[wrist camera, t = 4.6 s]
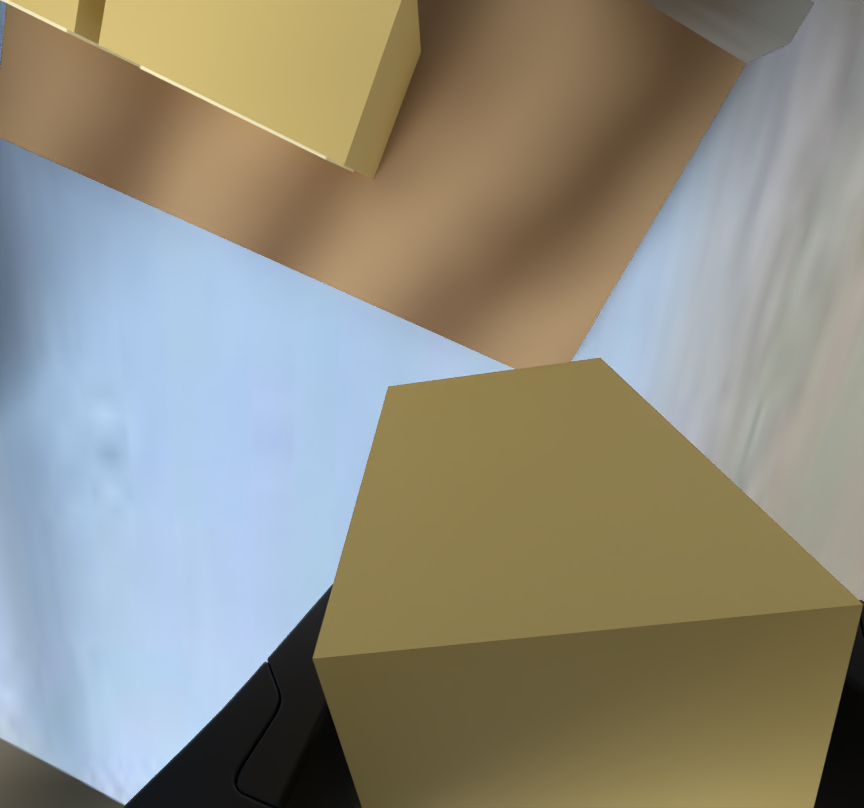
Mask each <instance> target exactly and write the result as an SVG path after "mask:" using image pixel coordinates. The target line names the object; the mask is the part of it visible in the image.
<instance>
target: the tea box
mask: <svg viewBox="0 0 864 808" xmlns="http://www.w3.org/2000/svg"><path fill="white" fill-rule="evenodd" d="M99 45H100V46H102V47H105V48H107V49H109V50H111V51H113V52H115V53H117V54H119V55H121V56H123V57H125V58H127V59H129V60H131V61H133V62H135V63H137V64H139V65H141V66H140V69H142V70H144V71H146V72H148V73H150V74H152V75H154V76H156V77H158V78H160V79H162V80H164V81H166V82H168V83H170V84H172V85H174V86H176V87H179V88H181V89H183V90H185V91H187V92H189V93H191V94H193V95H195V96H197V97H199V98H201V99H203V100H205V101H207V102H209V103H211V104H213V105H215V106H217V107H219V108H221V109H223V110H225V111H227V112H229V113H232V114H234V115H236V116H238V117H240V118H242V119H244V120H246V121H248V122H250V123H252V124H254V125H256V126H258V127H260V128H262V129H264V130H266V131H268V132H270V133H272V134H274V135H276V136H278V137H280V138H282V139H284V140H287V141H289V142H291V143H293V144H295V145H297V146H299V147H301V148H303V149H305V150H307V151H309V152H311V153H313V154H315V155H317V156H319V157H321V158H323V159H325V160H327V161H330V162H332V163H334V164H336V165H339V166H341V167H343V168H345V169H348V170H350V171H352V172H354V170H355V171H357V172H359V173H361V174H363V175H365V176H367V177H370V178H372V179H374V177H375V174H376V171H377V169H378V166H379V163H380V161H381V158H382V155H383V153H384V150H385V147H386V145H387V142H388V139H389V137H390V134H391V131H392V129H393V126H394V123H395V120H396V118H397V115H398V112H399V110H400V107H401V104H402V102H403V99H404V96H405V94H406V91H407V88H408V86H409V83H410V80H411V78H412V75H413V72H414V69H415V67H416V64H417V61H418V59H419V56H420V53H421V45H420V31H419V17H418V3H417V0H106V2H105V8H104V14H103V20H102V26H101V32H100V39H99Z"/></svg>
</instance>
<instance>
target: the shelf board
mask: <svg viewBox="0 0 864 808" xmlns="http://www.w3.org/2000/svg"><path fill="white" fill-rule="evenodd" d="M417 3H418V17H419V31H420V45H421V53H420V56H419V59H418V61H417V64H416V67H415V69H414V72H413V75H412V78H411V80H410V83H409V86H408V88H407V91H406V94H405V96H404V99H403V102H402V104H401V107H400V110H399V112H398V115H397V118H396V120H395V123H394V126H393V129H392V131H391V134H390V137H389V139H388V142H387V145H386V147H385V150H384V153H383V155H382V158H381V161H380V163H379V166H378V169H377V171H376V174H375V177H374V179H372V178H370V177H367V176H365V175H363V174H361V173H359V172H357V171H355V170H354V172H352V171H350V170H348V169H345V168H343V167H341V166H339V165H336V164H334V163H332V162H330V161H327V160H325V159H323V158H321V157H319V156H317V155H315V154H313V153H311V152H309V151H307V150H305V149H303V148H301V147H299V146H297V145H295V144H293V143H291V142H289V141H287V140H284V139H282V138H280V137H278V136H276V135H274V134H272V133H270V132H268V131H266V130H264V129H262V128H260V127H258V126H256V125H254V124H252V123H250V122H248V121H246V120H244V119H242V118H240V117H238V116H236V115H234V114H232V113H229V112H227V111H225V110H223V109H221V108H219V107H217V106H215V105H213V104H211V103H209V102H207V101H205V100H203V99H201V98H199V97H197V96H195V95H193V94H191V93H189V92H187V91H185V90H183V89H181V88H179V87H176V86H174V85H172V84H170V83H168V82H166V81H164V80H162V79H160V78H158V77H156V76H154V75H152V74H150V73H148V72H146V71H144V70H142V69H140V67H138V66H136V65H133V64H131V63H129V62H127V61H125V60H123V59H121V58H119V57H117V56H115V55H112V54H110V53H108V52H106V51H104V50H102V49H100V48H98V47H96V46H94V45H92V44H89V43H87V42H85V41H83V40H81V39H79V38H77V37H75V36H73V35H71V34H69V33H66V32H64V31H62V30H60V29H58V28H56V27H54V26H52V25H50V24H48V23H46V22H44V21H42V20H40V19H38V18H36V17H34V16H32V15H30V14H28V13H26V12H24V11H22V10H20V9H18V8H16V7H14V6H11V5H9V4H7V7H6V17H5V27H4V37H3V47H2V57H1V67H0V138H1V139H4V140H6V141H8V142H10V143H13V144H15V145H17V146H19V147H21V148H24V149H26V150H28V151H30V152H33V153H35V154H37V155H39V156H42V157H44V158H46V159H48V160H50V161H53V162H55V163H57V164H59V165H62V166H64V167H66V168H68V169H71V170H73V171H75V172H77V173H79V174H82V175H84V176H86V177H88V178H91V179H93V180H95V181H97V182H100V183H102V184H104V185H106V186H108V187H111V188H113V189H115V190H117V191H120V192H122V193H124V194H126V195H129V196H131V197H133V198H135V199H137V200H140V201H142V202H144V203H146V204H149V205H151V206H153V207H155V208H158V209H160V210H162V211H164V212H166V213H169V214H171V215H173V216H175V217H178V218H180V219H182V220H184V221H187V222H189V223H191V224H193V225H195V226H198V227H200V228H202V229H204V230H207V231H209V232H211V233H213V234H216V235H218V236H220V237H222V238H224V239H227V240H229V241H231V242H233V243H236V244H238V245H240V246H242V247H245V248H247V249H249V250H251V251H253V252H256V253H258V254H260V255H262V256H265V257H267V258H269V259H271V260H274V261H276V262H278V263H280V264H282V265H285V266H287V267H289V268H291V269H294V270H296V271H298V272H300V273H303V274H305V275H307V276H309V277H311V278H314V279H316V280H318V281H320V282H323V283H325V284H327V285H329V286H332V287H334V288H336V289H338V290H340V291H343V292H345V293H347V294H349V295H352V296H354V297H356V298H358V299H361V300H363V301H365V302H367V303H369V304H372V305H374V306H376V307H378V308H381V309H383V310H385V311H387V312H390V313H392V314H394V315H396V316H398V317H401V318H403V319H405V320H407V321H410V322H412V323H414V324H416V325H419V326H421V327H423V328H425V329H427V330H430V331H432V332H434V333H436V334H439V335H441V336H443V337H445V338H448V339H450V340H452V341H454V342H456V343H459V344H461V345H463V346H465V347H468V348H470V349H472V350H474V351H477V352H479V353H481V354H483V355H485V356H488V357H490V358H492V359H494V360H497V361H499V362H501V363H503V364H506V365H508V366H510V367H512V368H514V369H522V368H529V367H536V366H544V365H551V364H558V363H566V362H571V360H572V359H573V357H574V355H575V353H576V352H577V350H578V348H579V347H580V345H581V343H582V342H583V340H584V338H585V336H586V335H587V333H588V331H589V330H590V328H591V326H592V325H593V323H594V321H595V320H596V318H597V316H598V314H599V313H600V311H601V309H602V308H603V306H604V304H605V303H606V301H607V299H608V297H609V296H610V294H611V292H612V291H613V289H614V287H615V286H616V284H617V282H618V280H619V279H620V277H621V275H622V274H623V272H624V270H625V269H626V267H627V265H628V263H629V262H630V260H631V258H632V257H633V255H634V253H635V252H636V250H637V248H638V246H639V245H640V243H641V241H642V240H643V238H644V236H645V235H646V233H647V231H648V229H649V228H650V226H651V224H652V223H653V221H654V219H655V218H656V216H657V214H658V212H659V211H660V209H661V207H662V206H663V204H664V202H665V201H666V199H667V197H668V195H669V194H670V192H671V190H672V189H673V187H674V185H675V184H676V182H677V180H678V178H679V177H680V175H681V173H682V172H683V170H684V168H685V167H686V165H687V163H688V161H689V160H690V158H691V156H692V155H693V153H694V151H695V150H696V148H697V146H698V144H699V143H700V141H701V139H702V138H703V136H704V134H705V133H706V131H707V129H708V127H709V126H710V124H711V122H712V121H713V119H714V117H715V116H716V114H717V112H718V110H719V109H720V107H721V105H722V104H723V102H724V100H725V99H726V97H727V95H728V93H729V92H730V90H731V88H732V87H733V85H734V83H735V82H736V80H737V78H738V76H739V75H740V73H741V71H742V70H743V68H744V66H745V65H746V63H748V62H750V61H753V60H755V59H757V58H759V57H761V56H764V55H766V54H768V53H770V52H772V51H774V50H777V49H779V48H781V47H783V46H785V45H788V44H789V43H790V42H791V40H792V39H793V37H794V35H795V34H796V32H797V30H798V29H799V27H800V25H801V24H802V22H803V20H804V19H805V17H806V16H807V14H808V12H809V11H810V9H811V7H812V6H813V4H814V3H813V2H811V1H810V0H417Z"/></svg>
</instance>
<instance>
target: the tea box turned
mask: <svg viewBox="0 0 864 808" xmlns="http://www.w3.org/2000/svg"><path fill="white" fill-rule="evenodd" d="M862 608H863V604H862V603H861V602H860V601H859V600H858V599H857V598H856V597H855V596H854V595H853V594H852V593H851V592H850V591H848V590H847V589H846V588H845V587H844V586H843V585H842V584H841V583H840V582H839V581H838V580H837V579H836V578H835V577H834V576H832V575H831V574H830V573H829V572H828V571H827V570H826V569H825V568H824V567H823V566H822V565H821V564H820V563H819V562H818V561H816V560H815V559H814V558H813V557H812V556H811V555H810V554H809V553H808V552H807V551H806V550H805V549H804V548H803V547H802V546H800V545H799V544H798V543H797V542H796V541H795V540H794V539H793V538H792V537H791V536H790V535H789V534H788V533H787V532H786V531H784V530H783V529H782V528H781V527H780V526H779V525H778V524H777V523H776V522H775V521H774V520H773V519H772V518H771V517H770V516H768V515H767V514H766V513H765V512H764V511H763V510H762V509H761V508H760V507H759V506H758V505H757V504H756V503H755V502H754V501H752V500H751V499H750V498H749V497H748V496H747V495H746V494H745V493H744V492H743V491H742V490H741V489H740V488H739V487H738V486H736V485H735V484H734V483H733V482H732V481H731V480H730V479H729V478H728V477H727V476H726V475H725V474H724V473H723V472H722V471H720V470H719V469H718V468H717V467H716V466H715V465H714V464H713V463H712V462H711V461H710V460H709V459H708V458H707V457H706V456H704V455H703V454H702V453H701V452H700V451H699V450H698V449H697V448H696V447H695V446H694V445H693V444H692V443H691V442H690V441H688V440H687V439H686V438H685V437H684V436H683V435H682V434H681V433H680V432H679V431H678V430H677V429H676V428H675V427H674V426H672V425H671V424H670V423H669V422H668V421H667V420H666V419H665V418H664V417H663V416H662V415H661V414H660V413H659V412H658V411H656V410H655V409H654V408H653V407H652V406H651V405H650V404H649V403H648V402H647V401H646V400H645V399H644V398H643V397H642V396H640V395H639V394H638V393H637V392H636V391H635V390H634V389H633V388H632V387H631V386H630V385H629V384H628V383H627V382H626V381H624V380H623V379H622V378H621V377H620V376H619V375H618V374H617V373H616V372H615V371H614V370H613V369H612V368H611V367H610V366H608V365H607V364H606V363H605V362H604V361H603V360H602V359H601V358H595V359H588V360H580V361H573V362H566V363H558V364H551V365H544V366H536V367H529V368H522V369H514V370H507V371H499V372H492V373H485V374H477V375H470V376H463V377H455V378H448V379H441V380H433V381H426V382H419V383H411V384H404V385H397V386H389V387H388V390H387V393H386V397H385V400H384V404H383V408H382V411H381V415H380V418H379V422H378V426H377V429H376V433H375V436H374V440H373V443H372V447H371V451H370V454H369V458H368V461H367V465H366V469H365V472H364V476H363V479H362V483H361V486H360V490H359V494H358V497H357V501H356V504H355V508H354V512H353V515H352V519H351V522H350V526H349V529H348V533H347V537H346V540H345V544H344V547H343V551H342V555H341V558H340V562H339V565H338V569H337V573H336V576H335V580H334V583H333V587H332V590H331V594H330V598H329V601H328V605H327V608H326V612H325V616H324V619H323V623H322V626H321V630H320V633H319V637H318V641H317V644H316V648H315V651H314V655H313V662H314V665H315V668H316V671H317V674H318V677H319V680H320V683H321V686H322V689H323V692H324V695H325V698H326V701H327V704H328V707H329V710H330V713H331V716H332V719H333V722H334V725H335V728H336V731H337V734H338V737H339V740H340V743H341V746H342V749H343V752H344V755H345V758H346V761H347V764H348V767H349V770H350V773H351V776H352V779H353V782H354V785H355V788H356V791H357V794H358V797H359V800H360V803H361V806H362V808H814V804H815V800H816V796H817V792H818V788H819V784H820V780H821V775H822V771H823V767H824V763H825V759H826V755H827V751H828V747H829V743H830V739H831V735H832V730H833V726H834V722H835V718H836V714H837V710H838V706H839V702H840V698H841V694H842V689H843V685H844V681H845V677H846V673H847V669H848V665H849V661H850V657H851V653H852V649H853V644H854V640H855V636H856V632H857V628H858V624H859V620H860V616H861V612H862Z"/></svg>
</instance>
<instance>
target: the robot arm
mask: <svg viewBox="0 0 864 808" xmlns="http://www.w3.org/2000/svg"><path fill="white" fill-rule="evenodd" d="M332 587H333V584H332V585H331V587H330V588H329V589H328V590H327V591H326V592H325V593H324V595H323V596H322V597H321V598H320V599H319V600H318V601H317V603H316V604H315V605H314V606H313V607H312V608H311V609H310V611H309V612H308V613H307V614H306V615H305V616H304V617H303V619H302V620H301V621H300V622H299V623H298V624H297V625H296V627H295V628H294V629H293V630H292V631H291V632H290V634H289V635H288V636H287V637H286V638H285V639H284V640H283V642H282V643H281V644H280V645H279V646H278V647H277V648H276V650H275V651H274V652H273V653H272V654H271V655H270V656H269V658H268V660H267V661H268V663H267V662H264V663H263V664H262V665H261V666H260V668H259V669H258V670H257V671H256V672H255V673H254V675H253V676H252V677H251V678H250V679H249V680H248V681H247V682H246V684H245V685H244V686H243V687H242V688H241V689H240V690H239V691H238V692H237V693H236V695H235V696H234V697H233V698H232V699H231V700H230V701H229V702H228V703H227V704H226V705H225V707H224V708H223V709H222V710H221V711H220V712H219V713H218V714H217V715H216V716H215V717H214V718H213V719H212V720H211V721H210V722H209V723H208V724H207V725H206V726H205V727H204V728H203V729H202V730H201V731H200V732H199V733H198V734H197V735H196V736H195V737H194V738H193V739H192V740H191V741H190V742H189V743H188V744H187V745H186V746H185V747H184V748H183V749H182V750H181V751H180V752H179V753H178V754H177V755H176V756H175V757H174V758H173V759H172V760H171V761H170V762H169V763H168V764H167V765H166V766H165V767H164V768H163V769H162V770H161V771H160V772H159V773H158V774H157V775H156V776H155V777H153V778H152V779H151V780H150V781H149V782H148V783H147V784H146V785H145V786H144V787H143V788H142V789H141V790H140V791H139V792H138V793H137V794H136V795H135V796H134V797H133V798H132V799H131V800H130V801H129V802H128V803H127V804H126V805H125V806H124V807H123V808H362V806H361V803H360V800H359V797H358V794H357V791H356V788H355V785H354V782H353V779H352V776H351V773H350V770H349V767H348V764H347V761H346V758H345V755H344V752H343V749H342V746H341V743H340V740H339V737H338V734H337V731H336V728H335V725H334V722H333V719H332V716H331V713H330V710H329V707H328V704H327V701H326V698H325V695H324V692H323V689H322V686H321V683H320V680H319V677H318V674H317V671H316V668H315V665H314V662H313V655H314V651H315V648H316V644H317V641H318V637H319V633H320V630H321V626H322V623H323V619H324V616H325V612H326V608H327V605H328V601H329V598H330V594H331V590H332ZM859 601H860V602H861V603H862V604H863V608H862V612H861V616H860V620H859V624H858V628H857V632H856V636H855V640H854V644H853V649H852V653H851V657H850V661H849V665H848V669H847V673H846V677H845V681H844V685H843V689H842V694H841V698H840V702H839V706H838V710H837V714H836V718H835V722H834V726H833V730H832V735H831V739H830V743H829V747H828V751H827V755H826V759H825V763H824V767H823V771H822V775H821V780H820V784H819V788H818V792H817V796H816V800H815V804H814V808H864V601H862V600H859Z"/></svg>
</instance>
